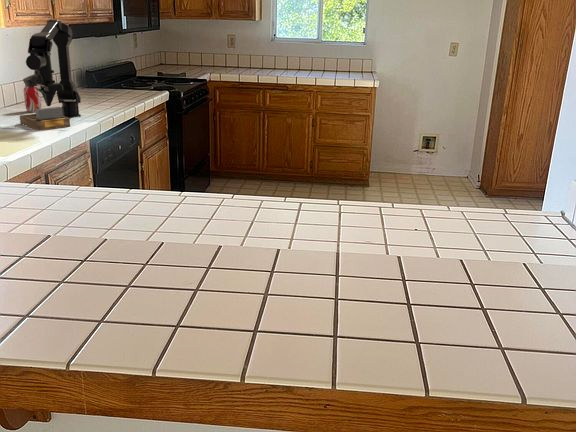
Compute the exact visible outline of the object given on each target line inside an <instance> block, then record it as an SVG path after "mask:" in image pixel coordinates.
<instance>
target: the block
mask: <svg viewBox="0 0 576 432" xmlns="http://www.w3.org/2000/svg"><path fill="white" fill-rule="evenodd" d="M35 111H36V112H35V114H36V119H37V121H43V120H51V119H60V118H63V112H62V108H61V106H53V107H51V106H50V107H42V108H41V109H35Z"/></svg>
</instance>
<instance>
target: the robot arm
mask: <svg viewBox="0 0 576 432" xmlns="http://www.w3.org/2000/svg"><path fill="white" fill-rule="evenodd" d="M46 21H47V22H46V24H45V26H44V27H43V28H42V30H41V31H40V32H36V33H33V34H32V35H31V36H30V37H29V42H28V43H29V44H28V48H27V53H28V54H29V55H28V56H27V57H26V60H25V64H26V66H27V68H29V69H30V70H32V71H34V74H31V75H28V76H26V77H24V78H23V79H22V81H23V83H24V86H26V87H29V88H31V87H34V86H37V87H38V89H37V90H38V91H39V92H40V94H41V95H42V98H43V100H44V102H45V105H46V107H51V105H52V103H53V100H54V97H55V95H56V97H57V100H58V103H59V104H61V106H60V107H61V108H62V112H63V116H64V117H67V118H71V117H72V118H74V117H81V116H82V114H80V109H79V108H80V107H79V104H80V103H82V101H81V96H80V93H79V91H78V90H77V86H76V84H75V83H74V81H73V79H72V70H71V68H72V67H71V58H70V49H69V48H70V45H71V43H72V42H73V41H72V40H73V30H72V28H71V27H70V26H69V25H68V24H66V23H64V22H62V21H61V20H59V19H48V20H46ZM53 43H54V44H55V46H56V49H57V57H58V67H59V77H60V81H59V82H56V80H55V79H54V78H53V76H54V75H53V74H55V70H53V69H52V62H51V61H52V60H51V55H52V54H51V52H52V47H53Z"/></svg>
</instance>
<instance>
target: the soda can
mask: <svg viewBox="0 0 576 432" xmlns="http://www.w3.org/2000/svg"><path fill="white" fill-rule="evenodd" d="M23 87H24V88H23V96H24V97H23V98H24V104H25V109H26V111H27V112H29V113H36V111H35V109H41V108H43V106H42V99H41V92H39V91H38V90H37V89H38V86H34V87H31V88H29V87H26V85H24V86H23Z"/></svg>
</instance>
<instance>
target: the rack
mask: <svg viewBox="0 0 576 432" xmlns="http://www.w3.org/2000/svg"><path fill="white" fill-rule="evenodd" d="M70 121H71V120H70V117H65V116H63V118H60V119H51V120H43V121H37V119H36V113H31V114H23V115H21V114H20V115H19V123H21V125H23V124H24V125H23V126H25V125H27V126H26V127H28V126H29V128H31V129H34V130H37V131H45V130H52V129H53V130H54V129H60V128H61V129H62V128H67V127H71V122H70Z"/></svg>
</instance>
